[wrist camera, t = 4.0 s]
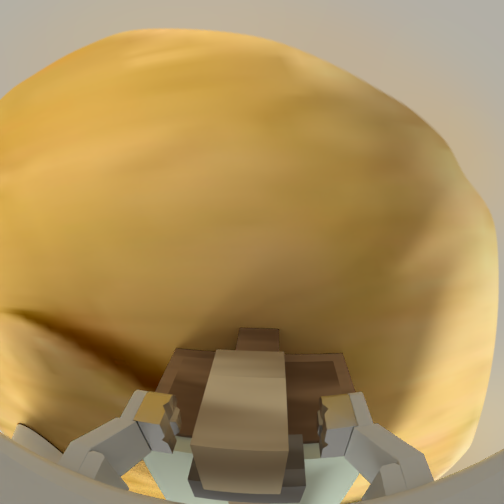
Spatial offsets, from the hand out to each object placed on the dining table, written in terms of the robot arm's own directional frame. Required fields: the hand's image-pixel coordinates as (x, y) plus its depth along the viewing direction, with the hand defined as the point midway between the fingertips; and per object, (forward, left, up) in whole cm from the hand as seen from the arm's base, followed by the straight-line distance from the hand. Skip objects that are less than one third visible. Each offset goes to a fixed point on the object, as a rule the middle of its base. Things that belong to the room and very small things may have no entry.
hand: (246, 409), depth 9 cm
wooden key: (-5, 0, -2) cm, 5 cm away
